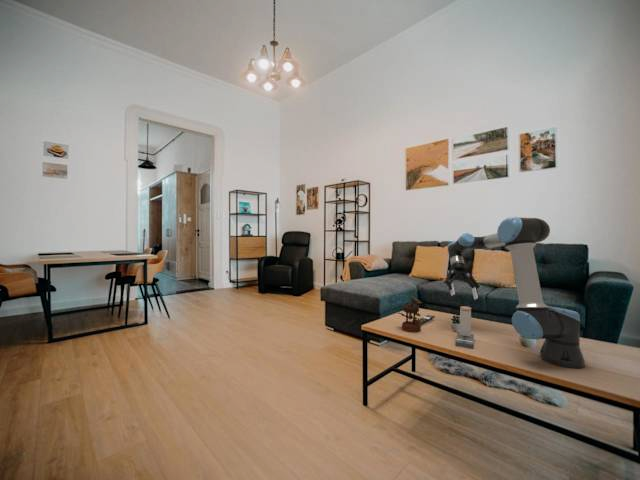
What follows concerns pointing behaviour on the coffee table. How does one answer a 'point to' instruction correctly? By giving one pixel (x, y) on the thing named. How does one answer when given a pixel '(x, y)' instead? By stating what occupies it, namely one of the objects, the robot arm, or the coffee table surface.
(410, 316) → the music box
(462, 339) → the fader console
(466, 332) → the grey tall cylinder
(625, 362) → the coffee table surface
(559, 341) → the robot arm
